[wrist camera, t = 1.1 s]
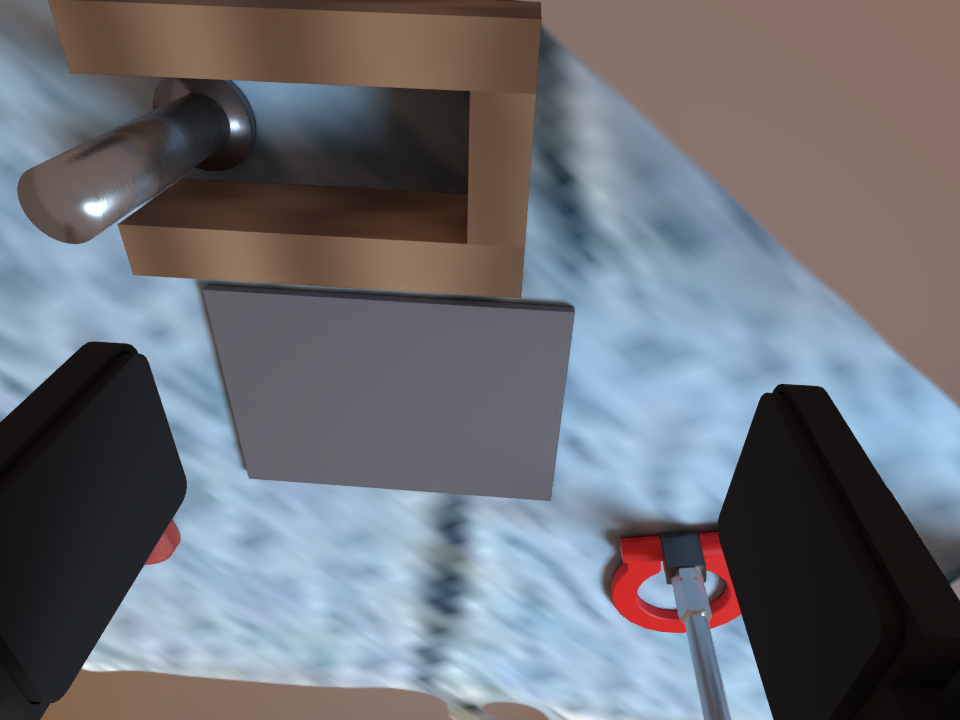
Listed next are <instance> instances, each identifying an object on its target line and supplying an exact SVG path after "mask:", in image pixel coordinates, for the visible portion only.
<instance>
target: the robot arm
mask: <svg viewBox="0 0 960 720" xmlns="http://www.w3.org/2000/svg"><path fill="white" fill-rule="evenodd" d="M186 489H187V481H186V476H185V473H184V470H183V467H182V464H181V461H180V458H179V455H178V452H177V449H176V446H175V443H174V439H173V436H172V433H171V430H170V427H169V424H168V421H167V418H166V415H165V412H164V409H163V405H162V402H161V399H160V396H159V393H158V390H157V387H156V384H155V381H154V378H153V375H152V372H151V368H150V365H149V362H148V360H147V358H146V357H145V356H144V355H142V354H138V352H137V350H136V349H135V348H134V347H133V346H132V345H130V344H125V343H109V342H88V343H86V344H85V345H83V346H82V347H81V348H80V349H79V350H78V351H76V352H75V353H74V354H73V355H72V356H71V357H70V358H69V359H68V360H67V361H66V362H65V363H64V364H63V365H61V366H60V367H59V368H58V369H57V370H56V371H55V372H54V373H53V374H52V375H51V376H50V377H49V378H47V379H46V380H45V381H44V382H43V383H42V384H41V385H40V386H39V387H38V388H37V389H36V390H35V391H33V392H32V393H31V394H30V395H29V396H28V397H27V398H26V399H25V400H24V401H23V402H22V403H21V404H20V405H18V406H17V407H16V408H15V409H14V410H13V411H12V412H11V413H10V414H9V415H8V416H7V417H6V418H4V419H3V420H2V421H1V422H0V720H40V719H41V717H42V716H43V714H44V712H45V711H46V709H47V708H48V706H49V705H50V703H54V702H56V701H58V700H60V699H61V698H62V697H63V696H64V694H65V693H66V692H67V690H68V689H69V688H70V686H71V684H72V682H73V681H74V679H75V678H76V676H77V674H78V673H79V671H80V669H81V668H82V666H83V665H84V663H85V661H86V660H87V658H88V656H89V655H90V653H91V651H92V650H93V648H94V646H95V645H96V643H97V642H98V640H99V638H100V637H101V635H102V633H103V632H104V630H105V628H106V627H107V625H108V624H109V622H110V620H111V619H112V617H113V615H114V614H115V612H116V610H117V609H118V607H119V605H120V604H121V602H122V601H123V599H124V597H125V596H126V594H127V592H128V591H129V589H130V587H131V586H132V584H133V582H134V581H135V579H136V578H137V576H138V574H139V573H140V571H141V569H142V568H143V566H144V564H145V563H146V561H147V560H148V558H149V556H150V555H151V553H152V551H153V550H154V548H155V546H156V545H157V543H158V541H159V540H160V538H161V537H162V535H163V533H164V532H165V530H166V528H167V527H168V525H169V523H170V522H171V520H172V518H173V517H174V515H175V514H176V512H177V510H178V509H179V507H180V505H181V504H182V502H183V500H184V497H185V494H186ZM718 537H719V541H720V545H721V548H722V551H723V555H724V558H725V561H726V565H727V568H728V571H729V574H730V578H731V581H732V584H733V588H734V591H735V594H736V598H737V601H738V604H739V607H740V611H741V614H742V617H743V621H744V624H745V627H746V630H747V634H748V637H749V640H750V644H751V647H752V650H753V654H754V657H755V660H756V663H757V667H758V670H759V673H760V677H761V680H762V683H763V687H764V690H765V693H766V696H767V700H768V703H769V706H770V710H771V713H772V716H773V719H774V720H960V600H959V598H958V597H957V595H956V594H955V592H954V590H953V589H952V587H951V586H950V584H949V583H948V581H947V579H946V578H945V576H944V575H943V573H942V572H941V570H940V568H939V567H938V565H937V564H936V562H935V561H934V559H933V557H932V556H931V554H930V553H929V551H928V549H927V548H926V546H925V545H924V543H923V542H922V540H921V538H920V537H919V535H918V534H917V532H916V531H915V529H914V527H913V526H912V524H911V523H910V521H909V519H908V518H907V516H906V515H905V513H904V512H903V510H902V508H901V507H900V505H899V504H898V502H897V501H896V499H895V497H894V496H893V494H892V493H891V491H890V490H889V489H888V488H887V487H886V485H885V484H884V482H883V480H882V479H881V477H880V476H879V474H878V472H877V471H876V469H875V468H874V466H873V464H872V463H871V461H870V460H869V458H868V457H867V455H866V453H865V452H864V450H863V449H862V447H861V445H860V444H859V442H858V441H857V439H856V438H855V436H854V434H853V433H852V431H851V430H850V428H849V426H848V425H847V423H846V422H845V420H844V419H843V417H842V415H841V414H840V412H839V411H838V409H837V407H836V406H835V404H834V403H833V401H832V400H831V398H830V396H829V395H828V393H827V392H826V391H825V390H824V388H822V387H819V386H806V385H790V384H780V385H778V386H777V387H776V388H775V389H774V391H773V393H765V394H763V395H762V396H761V398H760V400H759V403H758V406H757V409H756V412H755V415H754V417H753V420H752V423H751V426H750V429H749V432H748V435H747V438H746V440H745V443H744V446H743V449H742V452H741V455H740V458H739V461H738V463H737V466H736V469H735V472H734V475H733V478H732V481H731V484H730V486H729V489H728V492H727V495H726V498H725V501H724V504H723V506H722V509H721V512H720V515H719V519H718Z"/></svg>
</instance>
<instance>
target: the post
mask: <svg viewBox="0 0 960 720" xmlns="http://www.w3.org/2000/svg"><path fill="white" fill-rule="evenodd" d="M255 139H256V120H255V116H254V113H253V110H252V107H251V105H250V103H249V101H248V99H247V98H246V96H245V95H244V93H243V92H242V91H241V90H240V88H239V87H238V86H237V85H236V84H235V83H233V82H232V81H231V80H218V79H196V78H174V77H167V78H165V79H164V80H163V81H162V82H161V84H160V85H159V87H158V88H157V91H156V93H155V96H154V102H153V110H152V111H150V112H148V113H146V114H144V115H142V116H140V117H138V118H136V119H134V120H131V121H129V122H127V123H125V124H123V125H121V126H119V127H117V128H115V129H113V130H110V131H108V132H106V133H104V134H102V135H100V136H98V137H96V138H94V139H92V140H89V141H87V142H85V143H83V144H81V145H79V146H77V147H75V148H73V149H71V150H68V151H66V152H64V153H62V154H60V155H58V156H56V157H54V158H52V159H50V160H47V161H45V162H43V163H41V164H39V165H37V166H35V167H33V168H31V169H29V170H27V171H26V172H25V173H23V175H22V176H21V178H20V180H19V183H18V189H17V190H18V198H19V201H20V204H21V207H22V209H23V211H24V212H25V214H26V215H27V217H28V218H29V219H30V221H31V222H32V223H33V224H34V225H35V226H36V227H37V228H38V229H39V230H41V231H42V232H43V233H45V234H46V235H48V236H50V237H51V238H54V239H56V240H58V241H61V242H65V243H70V244H79V243H84V242H87V241H89V240H91V239H92V238H94V237H95V236H96V235H98V234H99V233H101V232H102V231H104V230H105V229H106V228H108V227H109V226H111V225H112V224H114V223H115V222H116V221H118V220H119V219H121V218H122V217H124V216H125V215H126V214H128V213H129V212H131V211H132V210H134V209H135V208H136V207H138V206H139V205H141V204H142V203H144V202H145V201H146V200H148V199H149V198H151V197H152V196H154V195H155V194H156V193H158V192H159V191H161V190H162V189H164V188H165V187H166V186H168V185H169V184H171V183H172V182H174V181H175V180H176V179H178V178H179V177H181V176H182V175H184V174H185V173H186V172H188V171H189V170H191V169H192V168H194V167H196V168H199V169H202V170H206V171H223V170H227V169H230V168H232V167H234V166H235V165H237V164H238V163H239V162H241V161H242V160H243V159H244V158H245V157H246V156H247V155H248V154H249V153H250V151H251V150H252V148H253V146H254V142H255Z"/></svg>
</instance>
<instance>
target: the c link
mask: <svg viewBox="0 0 960 720" xmlns="http://www.w3.org/2000/svg"><path fill="white" fill-rule="evenodd" d="M48 2H49V5H50V8H51V11H52V15H53V18H54V21H55V24H56V27H57V31H58V34H59V37H60V40H61V44H62V47H63V50H64V53H65V56H66V60H67V63H68V66H69V69H70V73H86V74H108V75H130V76H152V77H174V78H196V79H218V80H240V81H262V82H284V83H306V84H328V85H350V86H372V87H394V88H416V89H438V90H460V91H470V114H469V171H468V194H463V193H444V192H425V191H406V190H387V189H368V188H349V187H330V186H311V185H292V184H273V183H255V182H236V181H217V180H198V179H181V180H180V181H178V182H177V183H175V184H174V185H173V186H171V187H170V188H168V189H167V190H166V191H164V192H163V193H161V194H160V195H158V196H157V197H156V198H154V199H153V200H151V201H150V202H149V203H147V204H146V205H144V206H143V207H142V208H140V209H139V210H137V211H136V212H134V213H133V214H132V215H130V216H129V217H127V218H126V219H125V220H123V221H122V222H120V223H119V224H118V227H119V230H120V234H121V237H122V240H123V243H124V247H125V250H126V253H127V256H128V259H129V263H130V266H131V269H132V272H133V275H142V276H158V277H175V278H192V279H208V280H225V281H241V282H258V283H275V284H291V285H308V286H325V287H341V288H358V289H374V290H391V291H408V292H424V293H441V294H457V295H474V296H491V297H507V298H521V293H522V279H523V265H524V252H525V238H526V224H527V210H528V197H529V183H530V169H531V156H532V142H533V128H534V114H535V101H536V87H537V73H538V60H539V46H540V32H541V2H525V1H500V0H48Z"/></svg>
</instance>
